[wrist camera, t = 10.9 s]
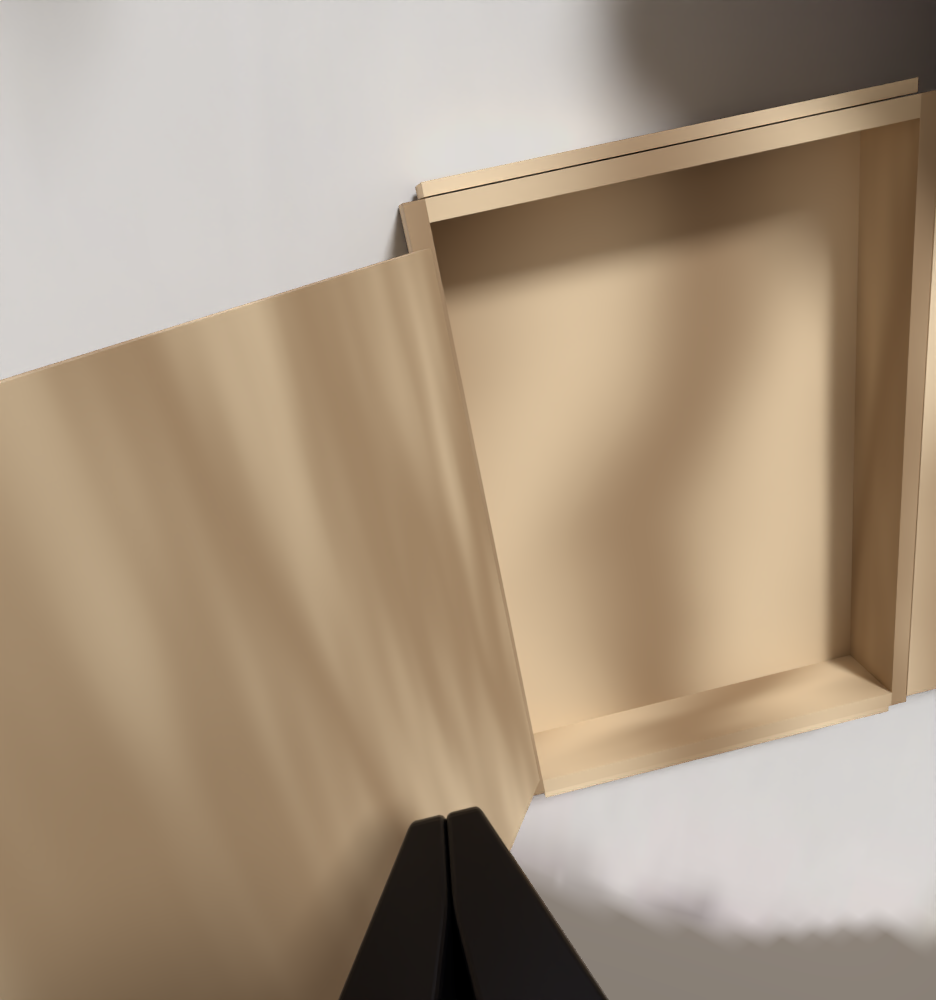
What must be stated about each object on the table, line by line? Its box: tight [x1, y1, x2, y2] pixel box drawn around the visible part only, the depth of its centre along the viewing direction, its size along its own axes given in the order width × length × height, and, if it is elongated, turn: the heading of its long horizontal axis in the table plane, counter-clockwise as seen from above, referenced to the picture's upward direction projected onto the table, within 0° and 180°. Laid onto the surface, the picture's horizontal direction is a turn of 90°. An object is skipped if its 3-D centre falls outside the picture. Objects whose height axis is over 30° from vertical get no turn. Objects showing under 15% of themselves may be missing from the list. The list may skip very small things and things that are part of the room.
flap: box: [0, 248, 540, 1000], centre depth 10 cm, size 1×12×11 cm
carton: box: [399, 77, 936, 797], centre depth 16 cm, size 15×15×2 cm
